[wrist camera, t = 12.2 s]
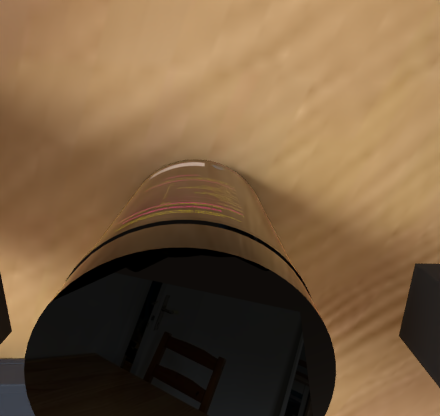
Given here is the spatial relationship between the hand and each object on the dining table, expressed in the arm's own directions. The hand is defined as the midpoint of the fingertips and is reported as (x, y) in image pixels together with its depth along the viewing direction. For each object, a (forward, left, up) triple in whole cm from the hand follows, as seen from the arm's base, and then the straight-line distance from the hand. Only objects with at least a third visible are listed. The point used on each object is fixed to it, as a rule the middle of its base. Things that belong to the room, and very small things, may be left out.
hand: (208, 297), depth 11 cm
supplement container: (+1, 0, -7) cm, 7 cm away
